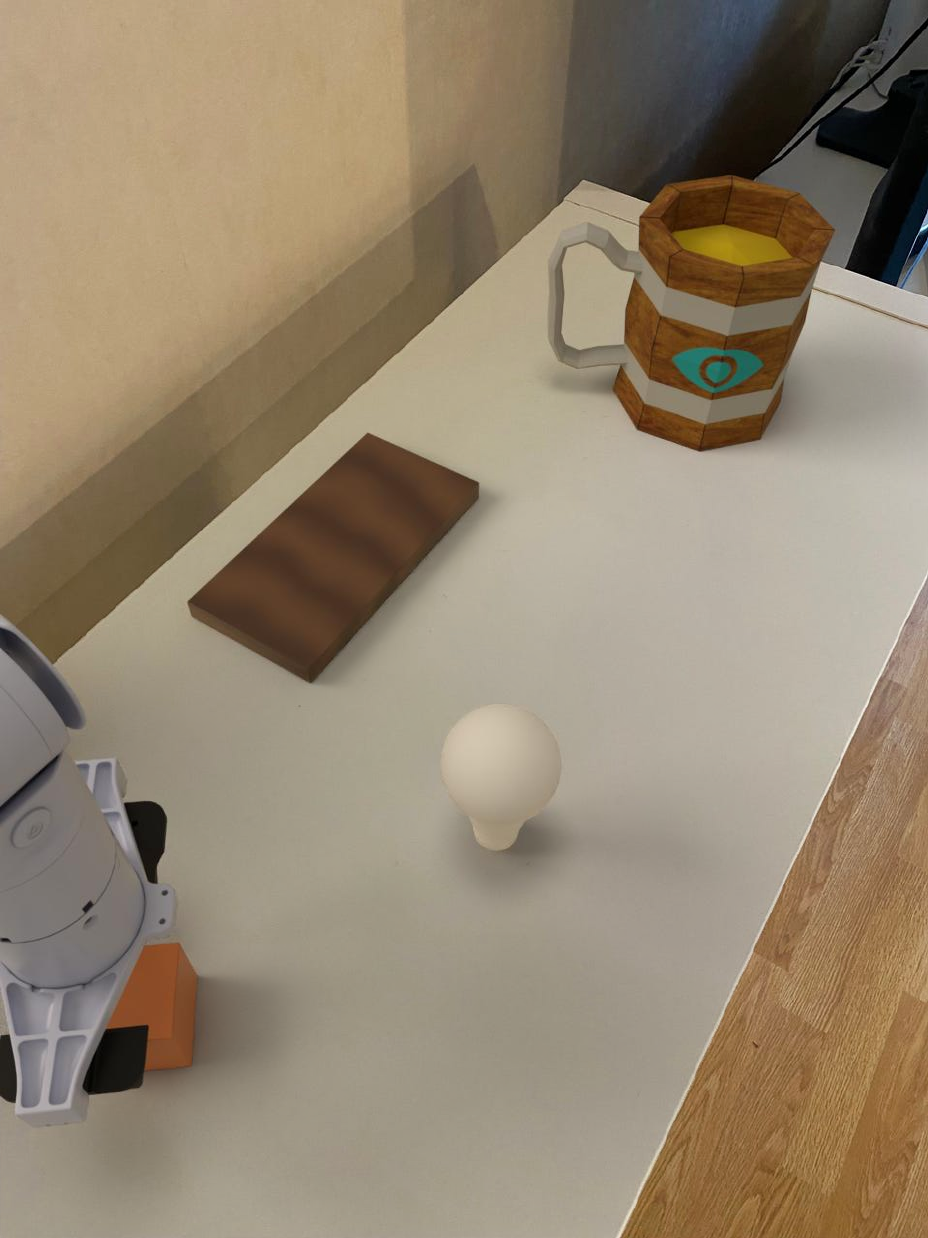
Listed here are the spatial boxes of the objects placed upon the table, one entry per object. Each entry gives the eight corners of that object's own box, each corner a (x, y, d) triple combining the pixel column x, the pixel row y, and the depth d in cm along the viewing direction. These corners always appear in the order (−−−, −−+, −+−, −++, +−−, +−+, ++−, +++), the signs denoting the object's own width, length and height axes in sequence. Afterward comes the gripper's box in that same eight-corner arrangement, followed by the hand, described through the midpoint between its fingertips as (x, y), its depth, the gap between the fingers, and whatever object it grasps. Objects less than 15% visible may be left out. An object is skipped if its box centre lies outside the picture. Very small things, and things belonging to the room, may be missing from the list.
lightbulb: (488, 909, 55) (495, 811, 46) (419, 829, 58) (414, 723, 49) (571, 844, 57) (593, 739, 49) (501, 770, 60) (510, 659, 52)
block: (98, 1076, 49) (71, 1048, 46) (108, 983, 52) (84, 950, 49) (192, 1066, 50) (172, 1038, 46) (197, 975, 52) (179, 941, 49)
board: (310, 683, 64) (308, 669, 63) (191, 616, 67) (186, 601, 66) (479, 497, 75) (479, 482, 74) (368, 447, 78) (367, 431, 77)
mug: (773, 351, 86) (824, 180, 74) (788, 458, 78) (848, 285, 66) (542, 334, 87) (556, 163, 76) (532, 437, 79) (546, 263, 67)
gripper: (127, 1064, 33) (206, 1157, 43) (164, 694, 42) (222, 845, 52) (-100, 1088, 32) (36, 1175, 43) (-13, 708, 41) (82, 857, 52)
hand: (128, 995), depth 47 cm, fingers open, 7 cm apart
